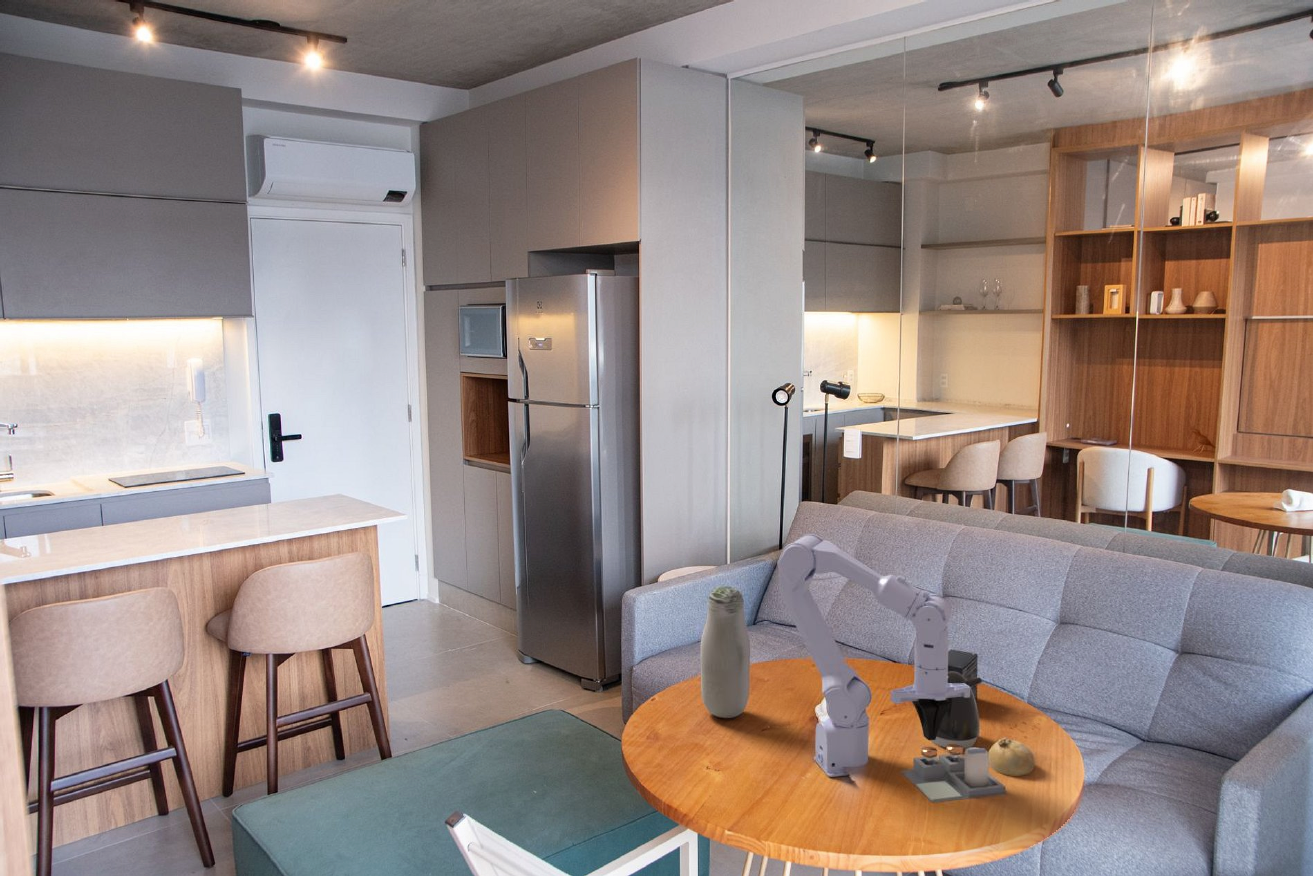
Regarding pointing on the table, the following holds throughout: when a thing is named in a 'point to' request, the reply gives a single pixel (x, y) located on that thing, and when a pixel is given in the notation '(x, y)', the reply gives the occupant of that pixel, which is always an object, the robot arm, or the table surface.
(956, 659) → the small box
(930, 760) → the plunger
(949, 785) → the housing
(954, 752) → the plunger
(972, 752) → the disc
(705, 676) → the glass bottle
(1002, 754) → the onion
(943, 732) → the pump dispenser
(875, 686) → the table surface
